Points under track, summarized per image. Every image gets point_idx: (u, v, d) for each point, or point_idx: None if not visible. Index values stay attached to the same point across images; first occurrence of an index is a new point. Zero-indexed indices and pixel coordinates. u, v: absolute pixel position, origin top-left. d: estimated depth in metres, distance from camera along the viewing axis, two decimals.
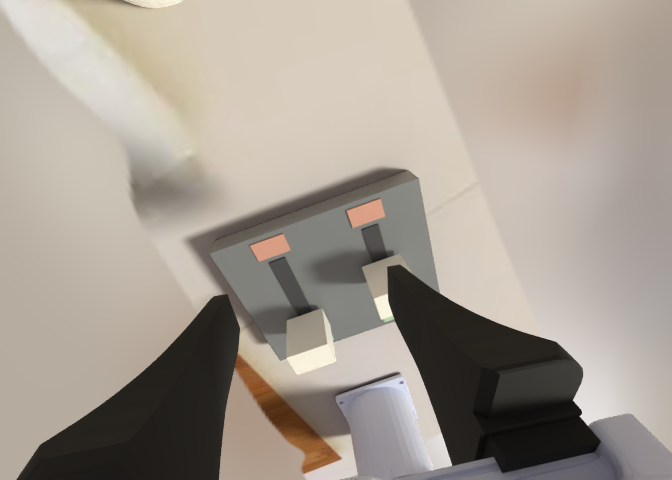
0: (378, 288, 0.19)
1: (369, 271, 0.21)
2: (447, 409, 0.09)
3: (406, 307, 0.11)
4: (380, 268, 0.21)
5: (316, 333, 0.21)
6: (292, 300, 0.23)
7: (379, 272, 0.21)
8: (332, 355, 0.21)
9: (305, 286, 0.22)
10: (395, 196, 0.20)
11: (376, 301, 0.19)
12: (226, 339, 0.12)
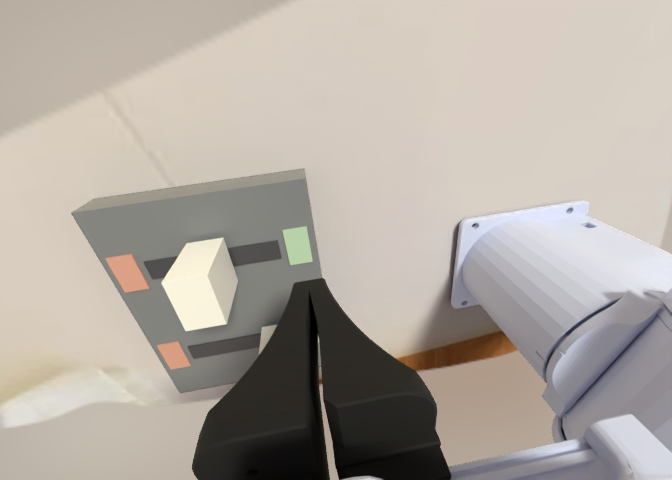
0: None
1: None
2: None
3: (316, 323, 0.11)
4: None
5: None
6: (248, 346, 0.21)
7: None
8: None
9: (231, 334, 0.20)
10: (102, 240, 0.16)
11: (191, 328, 0.14)
12: (313, 323, 0.12)
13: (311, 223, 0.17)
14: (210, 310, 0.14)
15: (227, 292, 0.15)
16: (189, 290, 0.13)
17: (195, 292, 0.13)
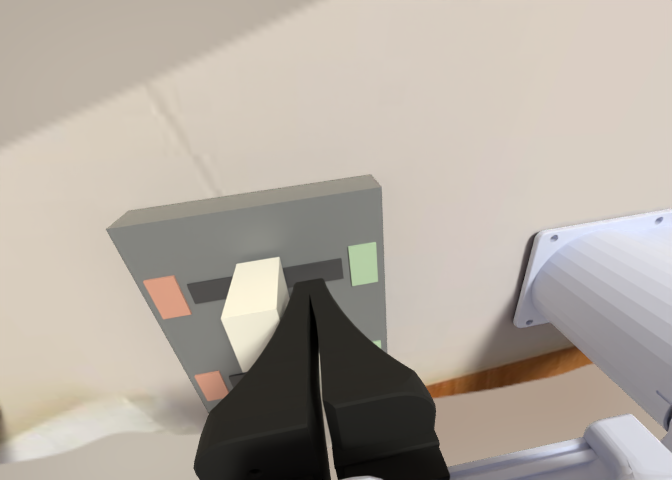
0: None
1: None
2: None
3: None
4: None
5: None
6: None
7: None
8: None
9: None
10: (140, 261, 0.13)
11: None
12: (314, 323, 0.12)
13: (381, 238, 0.15)
14: None
15: None
16: (252, 326, 0.11)
17: (260, 328, 0.11)
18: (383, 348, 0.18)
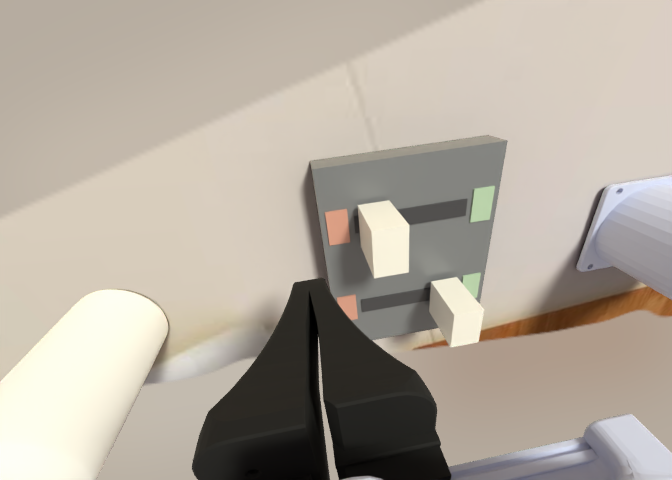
0: (370, 263, 0.17)
1: (363, 247, 0.19)
2: None
3: (316, 324, 0.11)
4: (362, 237, 0.18)
5: (444, 309, 0.20)
6: (410, 301, 0.23)
7: (364, 242, 0.18)
8: (473, 312, 0.19)
9: (399, 288, 0.22)
10: (327, 196, 0.18)
11: (379, 276, 0.16)
12: (313, 323, 0.12)
13: (498, 183, 0.19)
14: (400, 258, 0.16)
15: None
16: (390, 239, 0.15)
17: (395, 241, 0.15)
18: (480, 280, 0.23)
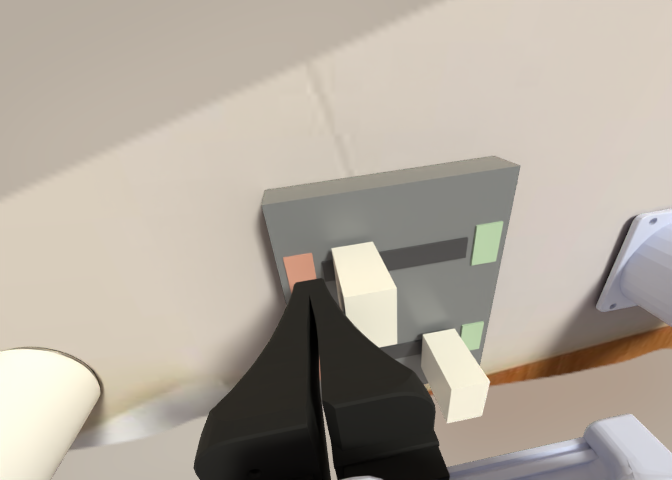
0: None
1: (339, 301, 0.14)
2: None
3: (315, 324, 0.11)
4: (338, 289, 0.14)
5: (439, 376, 0.16)
6: (397, 355, 0.19)
7: (339, 298, 0.14)
8: (475, 384, 0.15)
9: None
10: (284, 237, 0.14)
11: None
12: (314, 323, 0.12)
13: (508, 217, 0.15)
14: (385, 328, 0.12)
15: None
16: (371, 305, 0.11)
17: (377, 308, 0.11)
18: (483, 329, 0.19)
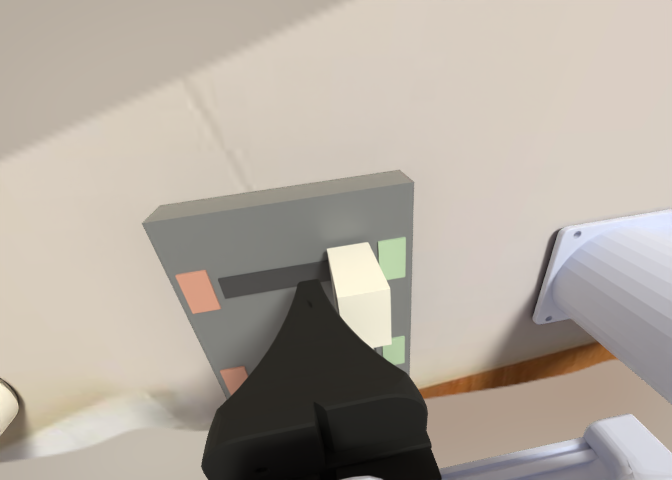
0: None
1: None
2: None
3: None
4: (333, 290, 0.14)
5: None
6: None
7: None
8: None
9: None
10: (173, 255, 0.13)
11: None
12: None
13: (410, 233, 0.15)
14: (379, 329, 0.12)
15: None
16: (364, 306, 0.11)
17: (371, 308, 0.11)
18: (406, 344, 0.18)
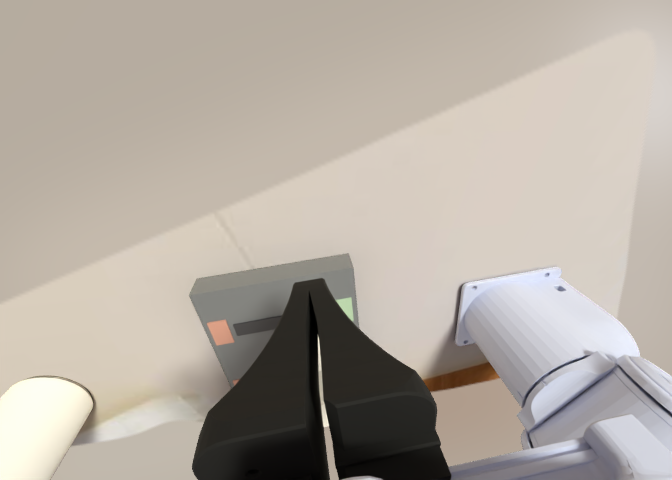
0: None
1: None
2: None
3: (316, 323, 0.11)
4: None
5: None
6: None
7: None
8: None
9: None
10: (206, 312, 0.22)
11: None
12: (313, 323, 0.12)
13: (354, 295, 0.23)
14: None
15: None
16: None
17: None
18: None
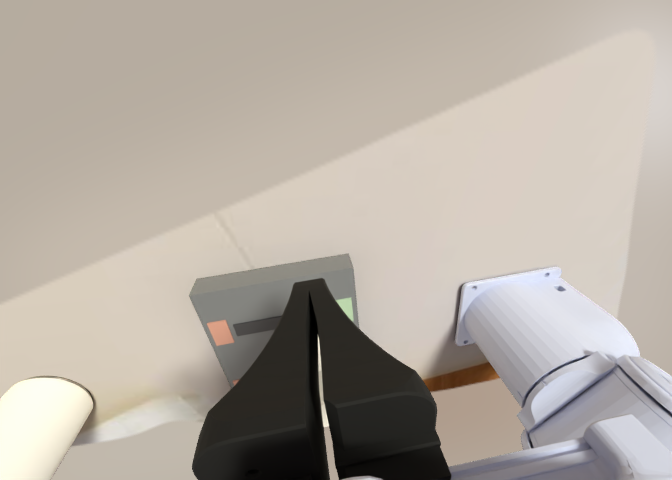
0: None
1: None
2: None
3: (316, 323, 0.11)
4: None
5: None
6: None
7: None
8: None
9: None
10: (206, 312, 0.22)
11: None
12: (313, 323, 0.12)
13: (354, 295, 0.23)
14: None
15: None
16: None
17: None
18: None
